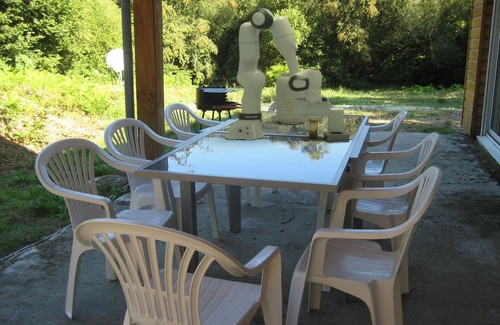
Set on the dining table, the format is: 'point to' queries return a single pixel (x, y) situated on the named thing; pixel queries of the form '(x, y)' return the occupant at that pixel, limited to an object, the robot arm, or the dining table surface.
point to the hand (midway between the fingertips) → (311, 122)
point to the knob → (313, 127)
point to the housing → (336, 136)
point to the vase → (287, 101)
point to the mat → (306, 138)
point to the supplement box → (336, 119)
